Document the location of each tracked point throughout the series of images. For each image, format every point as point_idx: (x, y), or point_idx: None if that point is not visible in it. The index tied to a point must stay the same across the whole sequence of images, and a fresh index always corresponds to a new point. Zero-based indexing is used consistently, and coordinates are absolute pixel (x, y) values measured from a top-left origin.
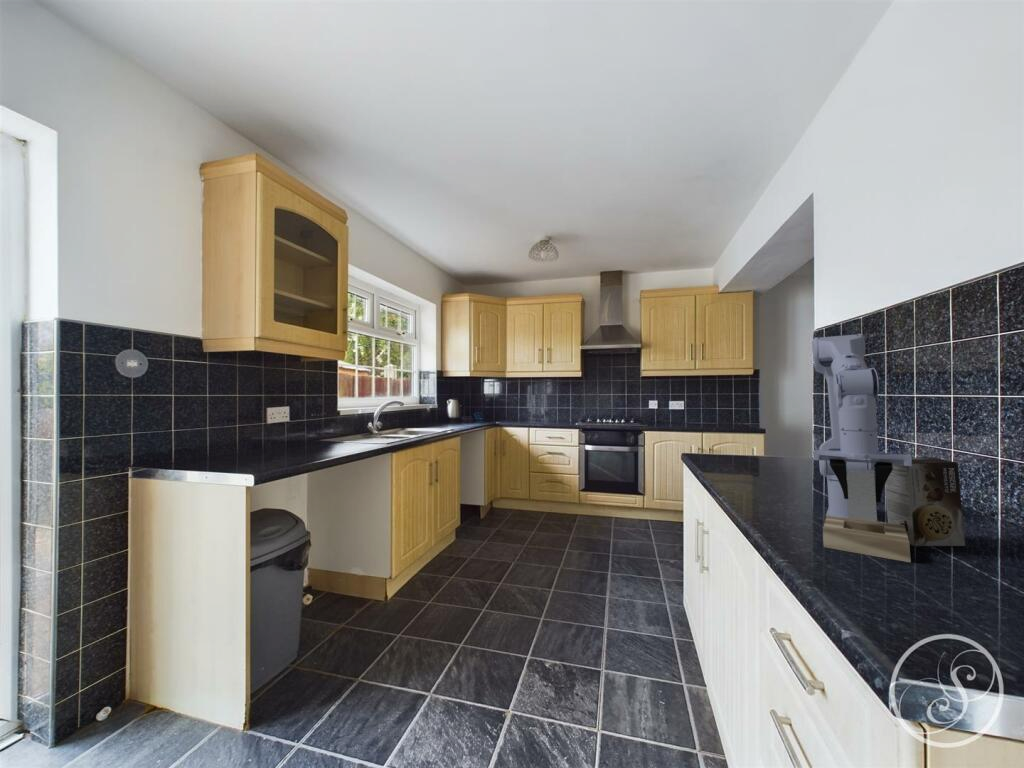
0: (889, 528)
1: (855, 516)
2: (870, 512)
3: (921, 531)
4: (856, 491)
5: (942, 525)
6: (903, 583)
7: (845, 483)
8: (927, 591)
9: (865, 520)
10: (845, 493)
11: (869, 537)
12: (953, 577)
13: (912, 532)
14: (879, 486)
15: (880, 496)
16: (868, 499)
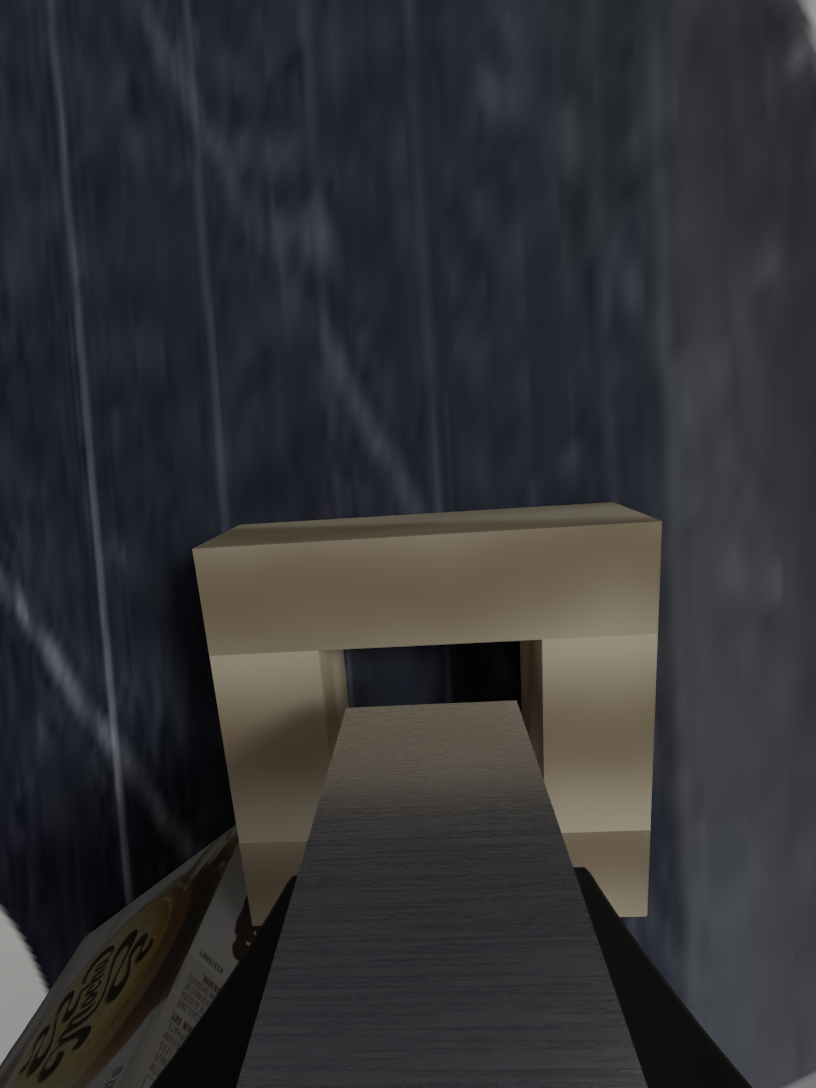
0: (309, 800)
1: (479, 713)
2: (376, 747)
3: (187, 899)
4: (488, 901)
5: (85, 990)
6: (237, 120)
7: (646, 1051)
8: (142, 71)
9: None
10: (597, 910)
11: (392, 535)
12: (79, 413)
13: (227, 879)
14: (215, 1061)
15: (263, 928)
16: (373, 835)
